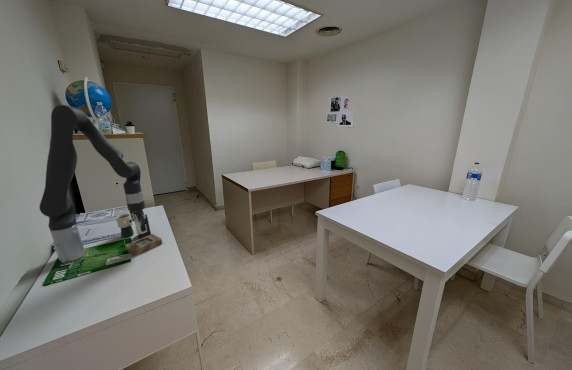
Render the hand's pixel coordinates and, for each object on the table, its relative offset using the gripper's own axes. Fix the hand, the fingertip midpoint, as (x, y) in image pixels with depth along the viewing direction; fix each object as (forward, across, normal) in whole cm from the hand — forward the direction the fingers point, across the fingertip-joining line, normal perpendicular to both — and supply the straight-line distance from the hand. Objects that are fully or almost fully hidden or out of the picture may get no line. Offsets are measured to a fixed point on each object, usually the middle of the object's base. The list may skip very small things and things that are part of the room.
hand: (141, 229), depth 114 cm
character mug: (+11, -22, +1) cm, 24 cm away
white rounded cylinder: (+1, 0, 0) cm, 1 cm away
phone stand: (+11, -12, +6) cm, 17 cm away
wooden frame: (+10, 0, 0) cm, 10 cm away
